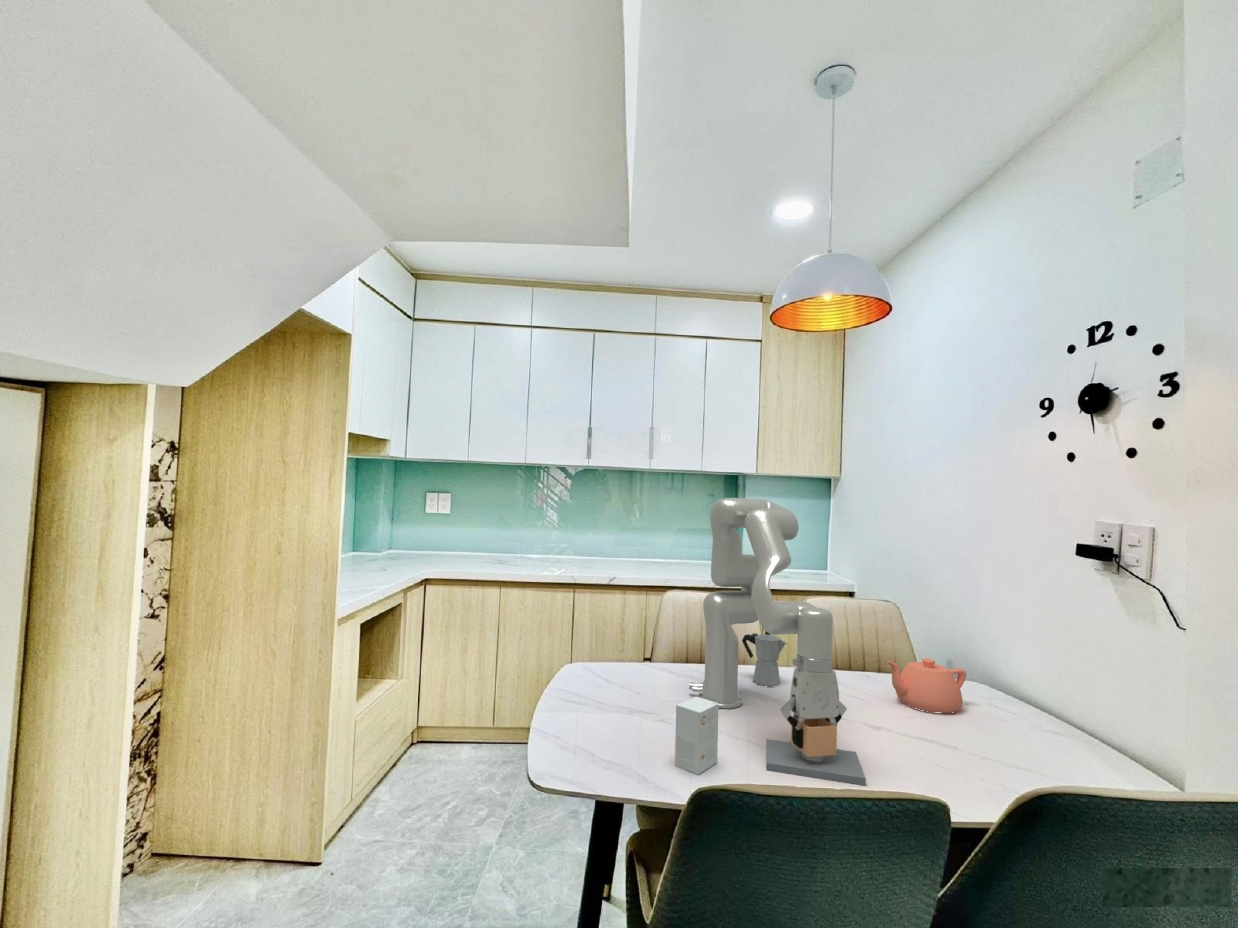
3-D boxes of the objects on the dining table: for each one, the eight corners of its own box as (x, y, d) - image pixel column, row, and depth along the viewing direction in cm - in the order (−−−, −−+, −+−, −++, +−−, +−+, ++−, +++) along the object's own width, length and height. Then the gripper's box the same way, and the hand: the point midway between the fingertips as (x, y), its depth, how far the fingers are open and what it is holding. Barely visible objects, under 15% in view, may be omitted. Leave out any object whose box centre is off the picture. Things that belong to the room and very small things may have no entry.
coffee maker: (789, 683, 182) (791, 627, 183) (782, 690, 175) (783, 632, 176) (745, 674, 190) (747, 620, 191) (736, 681, 183) (738, 625, 184)
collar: (808, 757, 121) (808, 728, 122) (790, 743, 128) (791, 716, 129) (836, 755, 123) (836, 726, 123) (818, 741, 130) (818, 714, 130)
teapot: (901, 715, 158) (902, 667, 159) (870, 694, 175) (870, 651, 176) (985, 716, 160) (985, 668, 161) (946, 695, 177) (946, 652, 178)
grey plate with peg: (766, 770, 122) (767, 739, 122) (766, 745, 134) (767, 717, 135) (865, 785, 117) (865, 753, 117) (855, 758, 129) (856, 729, 130)
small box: (693, 753, 128) (695, 695, 129) (717, 763, 124) (719, 702, 125) (673, 765, 122) (675, 704, 123) (698, 775, 118) (700, 712, 119)
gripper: (788, 670, 121) (786, 754, 120) (858, 667, 125) (857, 749, 124) (771, 660, 129) (769, 740, 127) (838, 658, 133) (837, 735, 131)
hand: (813, 744), depth 126 cm, fingers closed on collar, 7 cm apart
